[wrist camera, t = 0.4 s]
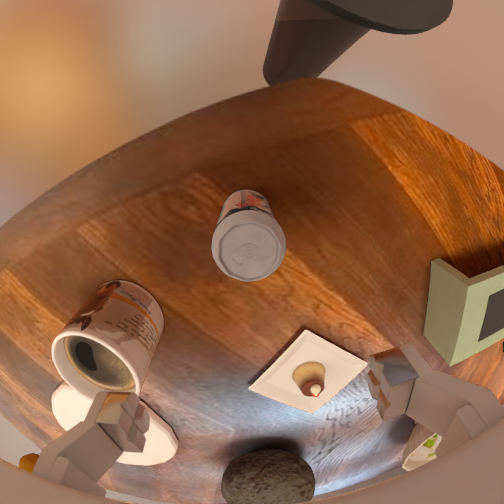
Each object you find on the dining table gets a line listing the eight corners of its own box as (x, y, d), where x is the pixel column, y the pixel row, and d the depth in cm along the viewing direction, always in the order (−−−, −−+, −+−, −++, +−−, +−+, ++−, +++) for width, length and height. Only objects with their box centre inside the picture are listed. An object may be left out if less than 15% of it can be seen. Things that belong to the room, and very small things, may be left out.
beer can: (278, 220, 29) (301, 264, 18) (238, 243, 30) (236, 300, 19) (254, 180, 28) (264, 198, 16) (213, 204, 28) (194, 239, 17)
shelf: (431, 260, 31) (469, 287, 24) (525, 231, 31) (557, 246, 23) (422, 334, 35) (450, 367, 28) (515, 292, 35) (542, 313, 27)
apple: (21, 442, 48) (8, 467, 37) (44, 454, 49) (32, 481, 38) (33, 457, 52) (22, 481, 40) (55, 468, 52) (45, 493, 41)
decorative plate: (105, 384, 31) (200, 469, 39) (114, 364, 35) (201, 452, 43) (24, 399, 34) (107, 472, 42) (33, 386, 38) (111, 459, 46)
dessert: (311, 408, 39) (317, 431, 35) (247, 383, 37) (248, 408, 32) (366, 358, 36) (378, 380, 32) (303, 324, 33) (312, 348, 29)
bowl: (414, 388, 40) (438, 428, 30) (478, 374, 41) (501, 403, 32) (373, 448, 46) (386, 483, 37) (437, 432, 47) (452, 460, 38)
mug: (157, 359, 35) (136, 422, 24) (78, 329, 33) (41, 380, 23) (171, 295, 32) (144, 357, 21) (81, 262, 30) (29, 307, 19)
